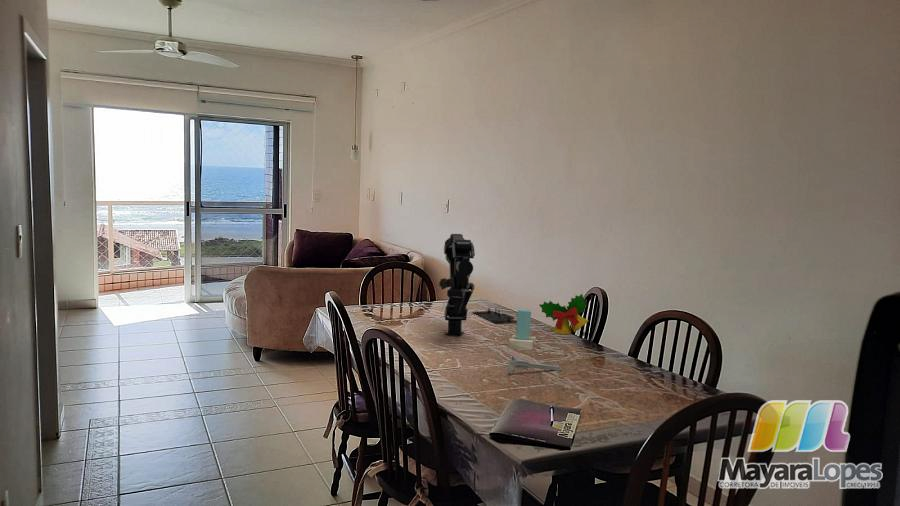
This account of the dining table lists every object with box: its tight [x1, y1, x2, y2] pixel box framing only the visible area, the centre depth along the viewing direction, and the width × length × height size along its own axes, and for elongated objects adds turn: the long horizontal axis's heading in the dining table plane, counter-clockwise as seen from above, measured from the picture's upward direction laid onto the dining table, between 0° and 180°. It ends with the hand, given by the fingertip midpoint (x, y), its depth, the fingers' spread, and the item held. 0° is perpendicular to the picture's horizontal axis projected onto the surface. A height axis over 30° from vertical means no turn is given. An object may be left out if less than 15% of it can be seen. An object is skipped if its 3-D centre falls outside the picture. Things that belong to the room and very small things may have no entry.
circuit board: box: [471, 307, 517, 325], centre depth 297 cm, size 25×14×3 cm, turn 25°
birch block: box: [508, 334, 537, 351], centre depth 247 cm, size 9×9×4 cm
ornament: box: [538, 293, 589, 335], centre depth 271 cm, size 22×9×16 cm, turn 62°
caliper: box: [507, 355, 564, 375], centre depth 214 cm, size 21×1×6 cm, turn 111°
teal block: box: [515, 308, 532, 340], centre depth 247 cm, size 5×5×11 cm
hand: (460, 311), depth 247 cm, fingers open, 9 cm apart
